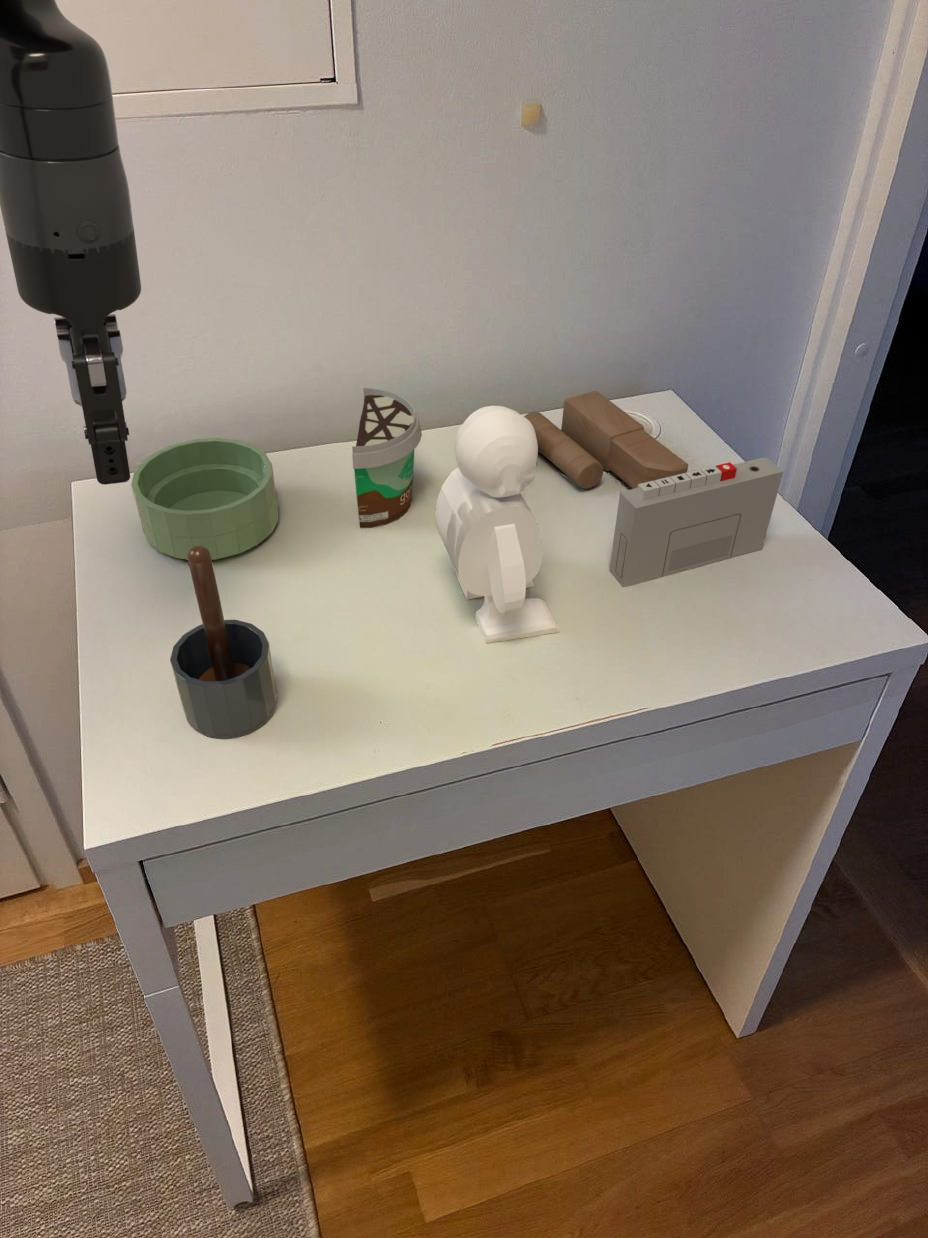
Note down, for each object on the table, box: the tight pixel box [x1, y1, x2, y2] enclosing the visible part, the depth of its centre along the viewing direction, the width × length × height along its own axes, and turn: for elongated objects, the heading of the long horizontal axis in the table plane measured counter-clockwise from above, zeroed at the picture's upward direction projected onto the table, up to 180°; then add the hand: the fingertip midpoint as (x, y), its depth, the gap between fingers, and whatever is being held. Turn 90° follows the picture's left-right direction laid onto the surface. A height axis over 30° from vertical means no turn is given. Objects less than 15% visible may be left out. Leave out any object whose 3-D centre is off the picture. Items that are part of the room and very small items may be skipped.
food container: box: [351, 387, 423, 529], centre depth 96 cm, size 12×6×10 cm, turn 179°
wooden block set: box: [523, 390, 689, 490], centre depth 101 cm, size 17×6×18 cm
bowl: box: [130, 437, 279, 560], centre depth 95 cm, size 13×13×6 cm
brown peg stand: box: [186, 545, 251, 682], centre depth 73 cm, size 5×5×16 cm
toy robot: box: [435, 405, 560, 644], centre depth 81 cm, size 14×9×20 cm, turn 16°
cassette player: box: [608, 456, 784, 588], centre depth 90 cm, size 16×3×10 cm, turn 113°
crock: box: [169, 619, 279, 740], centre depth 76 cm, size 7×7×6 cm
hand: (107, 449), depth 70 cm, fingers open, 8 cm apart
